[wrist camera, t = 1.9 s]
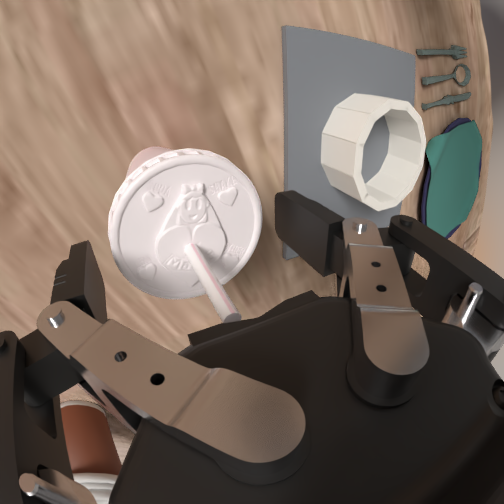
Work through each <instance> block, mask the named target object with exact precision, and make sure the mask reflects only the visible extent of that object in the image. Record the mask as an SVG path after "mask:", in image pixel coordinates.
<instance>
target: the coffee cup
mask: <svg viewBox="0 0 504 504" xmlns="http://www.w3.org/2000/svg"><path fill="white" fill-rule="evenodd" d="M60 406H61V414H62V421H63V428H64V434H65V440H66V445H67V451H68V456H69V460H70V465H71V469H72V473H73V477H74V481H76V482H78V483H79V484H81V485H83V486H85V487H86V488H87V489H88V490H89V491H90V492H91V493H92V495H93V496H94V498H95V500H96V502H97V504H108V502H109V497H110V494H111V491H112V489H113V486H114V484H115V482H116V479H117V477H118V474H119V472H120V469H121V467H122V464H121V462H120V459H119V456H118V453H117V450H116V447H115V444H114V441H113V438H112V435H111V432H110V428H109V425H108V422H107V418H106V414H105V412H104V410H103V408H101V407H100V406H98V405H97V404H94V403H91V402H88V401H82V400H71V401H66V402H63V403H61V404H60Z"/></svg>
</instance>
